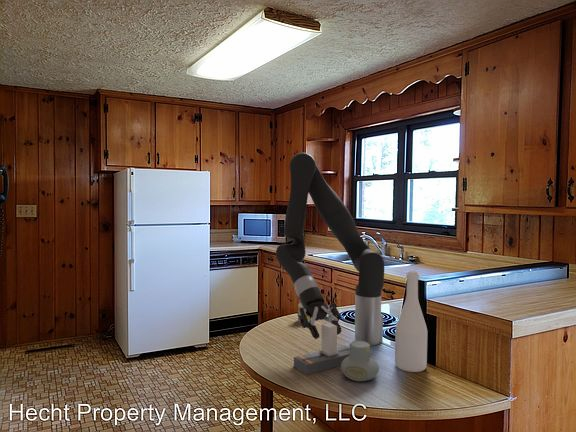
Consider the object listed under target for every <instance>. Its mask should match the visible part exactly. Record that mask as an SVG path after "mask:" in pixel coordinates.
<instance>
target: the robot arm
mask: <svg viewBox="0 0 576 432" xmlns="http://www.w3.org/2000/svg"><path fill="white" fill-rule="evenodd" d="M288 167H289V172H290V188H289V189H290V190H289V191H290V192H289V199H288V203H287V208H286V214H285V219H284V220H285V221H284V228H283V235H284V236H285V237H286V238H288V239H292V243H282V244H280V245H278V246H277V248H276V250H275V257H276V260H277V262H278V264H279V265H280V266H281V267H282V269H283V270H284V271H285V273H287V274H288V275H289V277H290V280H291V281H292V284H293V286H294V290H295V292H296V294H297V296H298V300H299V303H300V302H301V304H302V306H303V308H304V309H303V308H300V309H299V311H298V310H297V312H296V313H297V318H298V317H299V319H300V325H301V327H302V328H303V329H305V328H306V329H308V330H309V331H310V334H311V336H312V338H313V339H315V340H318V339H319V338H320V336H321V335H320V333H319V331H318V329H317V326H316V325H315V322H316V321H319V320H320V321H326V322H328V323H331V324H334V325H336V326H337V336H338V335H340V334H341V333H342V327H341V325H340V323H339V321H340V320H341V319H342V315H341V314H340V311H339V310H338V308H337V306H336V305H335V302H332V303H330V304H327V303H325V298H324V296H323V294H322V292H321V290H320V288H319V285H318V284H317V281H316V280H315V279H314V276H313V275H312V273H311V270H310V269H309V266H308V265H307V264H305V263H303V261H304V259H305V257H306V246H305V238H304V237H305V236H304V232H305V224H306V216H307V207H308V197H310V198H311V200H312V202H313V204H314V207H315V209H316V211H317V212H318V213H319V215H320V217H321V219H322V221H323V222H324V224H325V225H326V226H327V228H329V230H330V231H331V233H332V234H333V235H334V237H335V238H336V239H337V241H338V242H339V243H340V244H341V246H342V247H343V248H344V249H345V251H346V253H347V256H348V257H349V259H350V261H351V263H352V264H353V267H354V268H355V270H356V271H357V272H358V283H357V285H356V286H355V290H354V291H355V296H354V297H355V300H354V301H355V302H354V303H355V304H354V305H355V306H354V309H355V310H354V341H364V342H367V343H369V344H370V346H377V345H379V344H381V342H383V337H384V336H383V334H384V329H383V328H384V315H382V290H383V289H384V282H385V261H384V258H383V256H382V255H381V254H380V253H379V252H376V251H374V250H372V249H371V248H370V247H369V246H368V245H367V243H366V241H364V239H363V238H362V236H361V235H360V233H359V231H358V228H357V225H356V222H355V220H354V218H353V215H352V214H351V213H350V212H351V211H350V210H349V209H348V207H347V206H346V205H345V203H344V201H342V199H341V198H340V197H339V195H338V194H337V193H336V191H335V190H334V189H332V187H331V186H330V185H329V184H328V183H327V181H326V180H325V178H324V177H323V174H322V173H321V171H320V169H319V167H318V165H317V163H316V159H314V156H312V155H311V154H310V153H307V152H303V151H302V152H298V153H295V154H293V156H291V159H290V161H289V166H288ZM305 314H307V315H308V316H309V321H308V320H307V317H306V315H305Z"/></svg>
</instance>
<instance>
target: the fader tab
mask: <svg viewBox="0 0 576 432" xmlns="http://www.w3.org/2000/svg"><path fill="white" fill-rule="evenodd" d="M337 347H338V335H337V326H336V325H334V324H331V323H330V322H326V323H322V324H321V348H320V349H319V350H318V351H319V352H321V353H323V354H325V355H326V356H328V357H330V356H334V355H338V354H339V352H337Z"/></svg>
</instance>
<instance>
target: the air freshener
mask: <svg viewBox="0 0 576 432" xmlns="http://www.w3.org/2000/svg"><path fill="white" fill-rule="evenodd" d="M349 348H350V356H348V357H346V358H345V359H344V360H343V361H342V363H341V366H340V370H341V372H342V374H344V376H345V377H347V378H348V379H350V380H352V381H354V382H358V383H360V382H366V381H370V380H372V379H374V378H376V376H377V375H378V373H379V370H380V369H379V365H378V363H377V361H376V360H375V359H374V358H373V357H371V345H370V344H369V343H367V342H364V341H355V340H354V341H351V342H350V343H349Z"/></svg>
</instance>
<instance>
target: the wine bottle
mask: <svg viewBox="0 0 576 432" xmlns="http://www.w3.org/2000/svg"><path fill="white" fill-rule="evenodd" d="M419 276H420V274H419V272H418V271H417V270H407V272H406V277H405V278H406V279H407V280H406V296H405V301H404V304H403V307H402V309H401V312H400V314H399V316H398V320H397V322H396V326H395V331H394V333H395V337H394V339H395V341H394V342H395V343H394V364H395V367H397V368H398V369H400V370H401V371H405V372H408V373H421V372H423V371H425V369H427V365H428V328H427V324H426V321H425V318H424V314H423V311H422V308H421V305H420V302H419V278H420V277H419Z"/></svg>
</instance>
